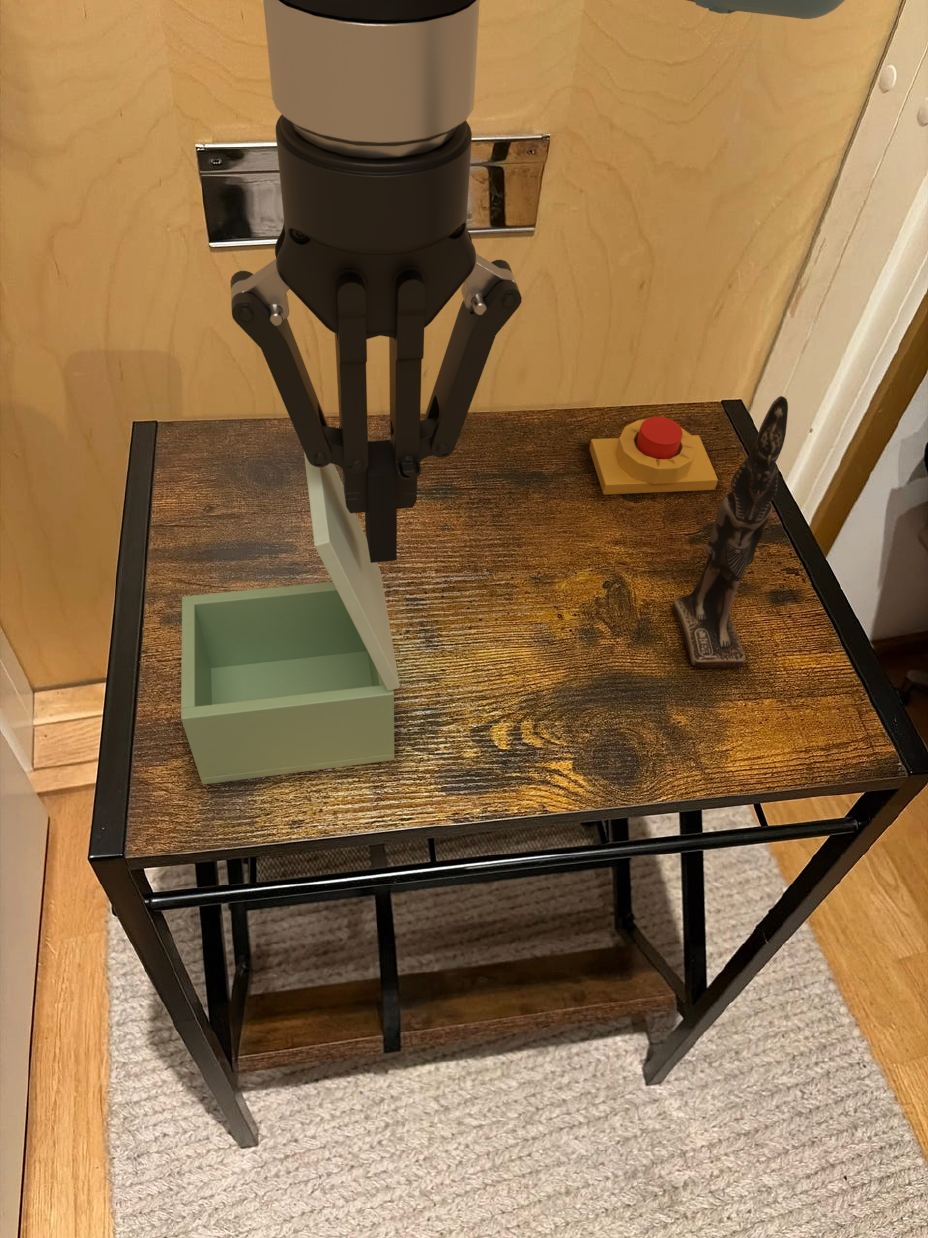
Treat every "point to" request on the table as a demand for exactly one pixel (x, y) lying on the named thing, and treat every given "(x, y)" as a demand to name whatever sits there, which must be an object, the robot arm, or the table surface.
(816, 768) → the table surface
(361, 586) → the hatch lid
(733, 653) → the statue
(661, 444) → the button
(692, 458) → the button block
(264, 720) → the hatch box
